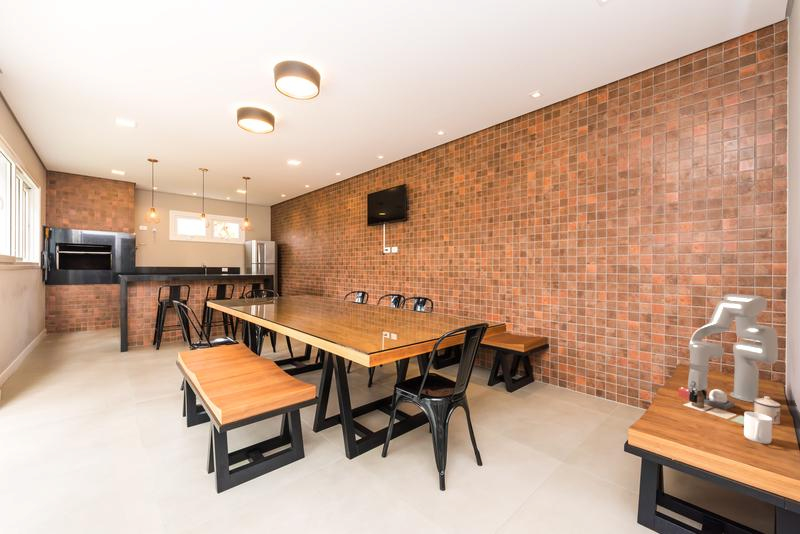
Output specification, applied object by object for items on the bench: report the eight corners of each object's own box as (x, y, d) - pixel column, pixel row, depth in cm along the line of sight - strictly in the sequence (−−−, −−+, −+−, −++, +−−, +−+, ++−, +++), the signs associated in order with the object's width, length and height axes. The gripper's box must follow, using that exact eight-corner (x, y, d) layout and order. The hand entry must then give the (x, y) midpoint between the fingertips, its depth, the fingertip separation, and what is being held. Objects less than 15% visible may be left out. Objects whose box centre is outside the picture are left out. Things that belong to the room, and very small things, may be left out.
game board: (691, 401, 187) (691, 399, 187) (768, 425, 160) (769, 423, 160) (678, 406, 181) (678, 404, 181) (757, 431, 154) (757, 429, 154)
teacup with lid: (780, 427, 159) (781, 402, 159) (752, 419, 166) (753, 396, 166) (781, 419, 167) (781, 395, 167) (754, 413, 174) (755, 390, 174)
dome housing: (710, 400, 189) (710, 395, 189) (734, 407, 180) (734, 402, 180) (701, 404, 184) (701, 398, 184) (725, 411, 175) (726, 405, 175)
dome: (712, 399, 187) (713, 386, 186) (729, 404, 180) (729, 390, 180) (706, 401, 183) (706, 388, 183) (723, 406, 177) (723, 393, 177)
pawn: (694, 403, 182) (694, 387, 182) (706, 406, 178) (706, 390, 178) (689, 405, 180) (690, 388, 180) (701, 408, 176) (701, 392, 176)
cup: (771, 439, 148) (772, 416, 148) (771, 449, 140) (772, 425, 140) (744, 432, 154) (745, 409, 154) (742, 441, 146) (743, 417, 146)
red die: (679, 395, 195) (679, 386, 195) (690, 398, 192) (691, 388, 192) (678, 398, 192) (678, 388, 191) (690, 401, 188) (690, 390, 188)
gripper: (698, 363, 186) (697, 395, 186) (681, 367, 178) (680, 400, 178) (715, 367, 179) (714, 400, 180) (699, 372, 171) (698, 406, 172)
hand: (697, 400), depth 179 cm, fingers open, 9 cm apart
